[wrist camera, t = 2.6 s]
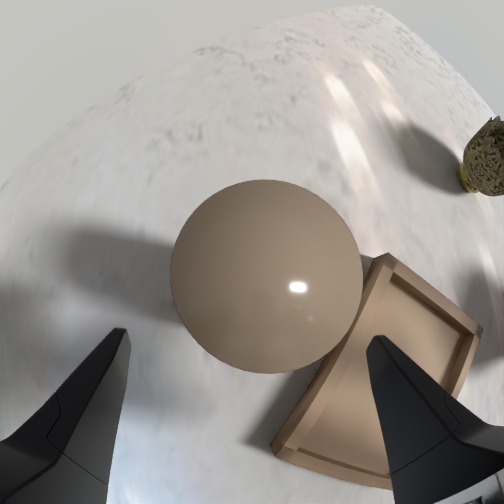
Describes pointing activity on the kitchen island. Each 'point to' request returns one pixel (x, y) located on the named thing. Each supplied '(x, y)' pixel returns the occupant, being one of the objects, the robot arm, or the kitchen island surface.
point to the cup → (484, 160)
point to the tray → (358, 381)
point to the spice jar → (266, 276)
